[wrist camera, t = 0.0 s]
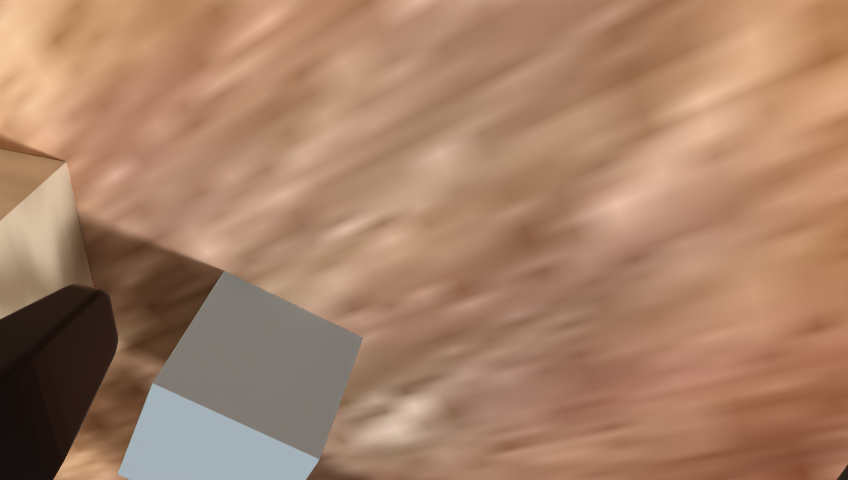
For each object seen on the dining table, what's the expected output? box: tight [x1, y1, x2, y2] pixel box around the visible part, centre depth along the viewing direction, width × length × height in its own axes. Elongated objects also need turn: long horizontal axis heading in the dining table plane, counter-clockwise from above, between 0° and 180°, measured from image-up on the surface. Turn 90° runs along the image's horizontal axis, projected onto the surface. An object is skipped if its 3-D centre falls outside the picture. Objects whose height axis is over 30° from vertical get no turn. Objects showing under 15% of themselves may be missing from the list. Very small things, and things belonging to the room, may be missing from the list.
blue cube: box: [118, 271, 363, 480], centre depth 29 cm, size 6×6×6 cm
